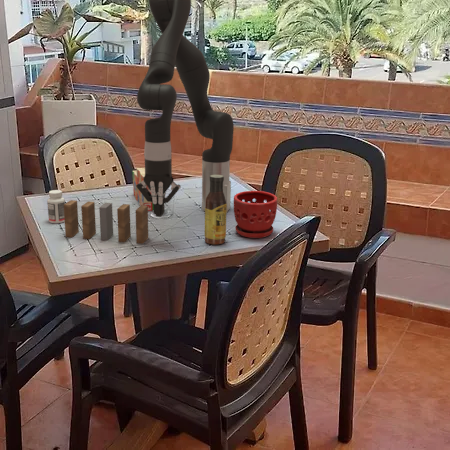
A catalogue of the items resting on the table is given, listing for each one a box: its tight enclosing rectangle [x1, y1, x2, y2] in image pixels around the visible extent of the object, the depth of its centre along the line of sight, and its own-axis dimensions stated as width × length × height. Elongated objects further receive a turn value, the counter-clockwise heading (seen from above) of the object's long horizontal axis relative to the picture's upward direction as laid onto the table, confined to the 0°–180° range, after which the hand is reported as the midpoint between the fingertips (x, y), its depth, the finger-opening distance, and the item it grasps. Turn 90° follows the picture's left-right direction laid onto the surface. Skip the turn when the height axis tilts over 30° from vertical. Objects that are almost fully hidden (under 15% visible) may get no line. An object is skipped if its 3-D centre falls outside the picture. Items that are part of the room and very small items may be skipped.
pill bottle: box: [46, 189, 66, 224], centre depth 206 cm, size 5×5×10 cm
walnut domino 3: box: [116, 203, 132, 243], centre depth 191 cm, size 2×5×10 cm, turn 168°
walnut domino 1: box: [64, 199, 80, 238], centre depth 194 cm, size 2×5×10 cm, turn 169°
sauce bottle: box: [203, 175, 228, 246], centre depth 188 cm, size 6×6×20 cm
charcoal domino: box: [98, 202, 114, 242], centre depth 192 cm, size 2×5×10 cm, turn 169°
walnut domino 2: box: [80, 201, 97, 240], centre depth 193 cm, size 2×5×10 cm, turn 169°
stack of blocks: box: [132, 167, 154, 212], centre depth 228 cm, size 21×6×12 cm, turn 17°
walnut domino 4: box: [135, 205, 149, 245], centre depth 190 cm, size 2×5×10 cm, turn 169°
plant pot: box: [233, 190, 278, 239], centre depth 197 cm, size 13×13×12 cm
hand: (159, 215), depth 188 cm, fingers closed
